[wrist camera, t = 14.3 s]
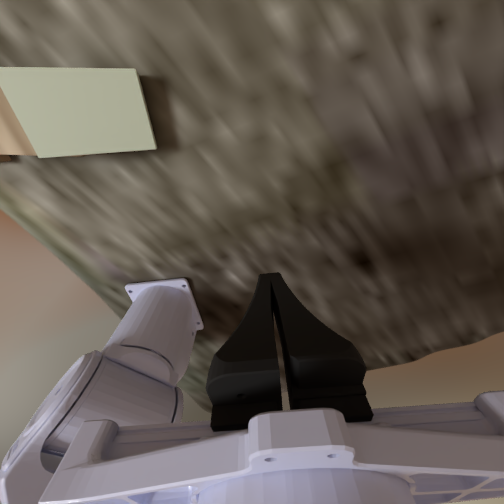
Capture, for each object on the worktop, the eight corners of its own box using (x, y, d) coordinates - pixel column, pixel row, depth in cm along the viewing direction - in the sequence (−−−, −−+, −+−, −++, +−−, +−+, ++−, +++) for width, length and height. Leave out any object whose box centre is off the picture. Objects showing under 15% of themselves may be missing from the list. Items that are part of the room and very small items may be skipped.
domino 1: (57, 78, 14) (-116, 56, 12) (82, 156, 17) (-58, 152, 14) (66, 82, 16) (-88, 64, 13) (88, 154, 18) (-39, 150, 16)
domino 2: (135, 68, 14) (-11, 66, 12) (156, 149, 17) (38, 158, 15) (138, 73, 16) (7, 72, 14) (157, 147, 18) (49, 155, 16)
